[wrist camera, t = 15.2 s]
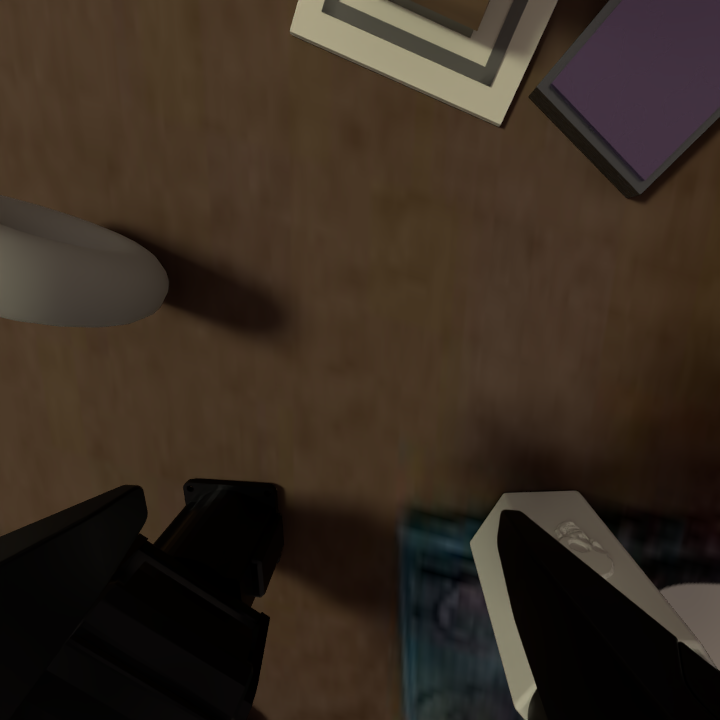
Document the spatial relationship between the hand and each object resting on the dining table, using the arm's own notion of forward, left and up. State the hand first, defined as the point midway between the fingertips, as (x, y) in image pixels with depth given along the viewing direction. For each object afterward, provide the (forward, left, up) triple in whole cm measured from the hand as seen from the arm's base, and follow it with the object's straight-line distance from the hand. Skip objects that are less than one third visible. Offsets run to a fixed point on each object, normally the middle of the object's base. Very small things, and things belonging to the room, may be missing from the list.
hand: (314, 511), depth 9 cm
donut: (-14, +6, -13) cm, 20 cm away
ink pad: (+13, +14, -13) cm, 23 cm away
